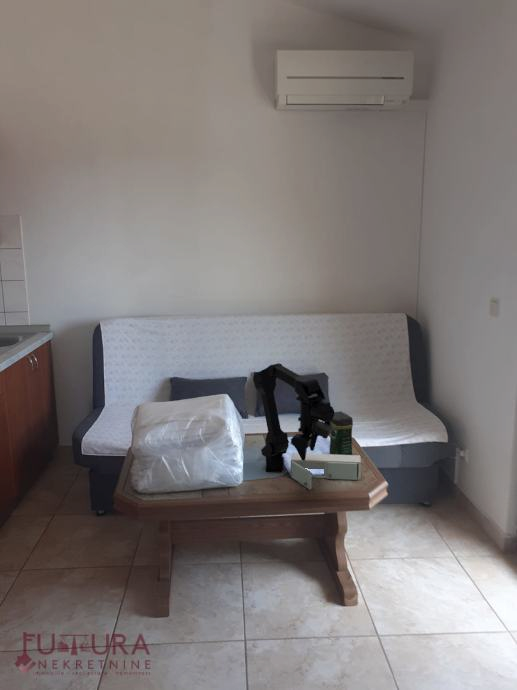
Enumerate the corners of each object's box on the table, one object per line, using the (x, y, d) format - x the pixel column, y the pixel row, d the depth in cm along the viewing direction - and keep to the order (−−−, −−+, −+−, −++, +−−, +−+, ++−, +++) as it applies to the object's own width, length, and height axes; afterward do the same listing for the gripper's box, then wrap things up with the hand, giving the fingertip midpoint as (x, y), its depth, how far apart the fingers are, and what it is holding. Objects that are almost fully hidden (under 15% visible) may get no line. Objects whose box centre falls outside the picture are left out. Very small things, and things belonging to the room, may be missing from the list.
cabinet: (290, 479, 209) (290, 461, 208) (292, 469, 217) (292, 452, 216) (360, 482, 206) (361, 464, 204) (359, 472, 214) (360, 455, 212)
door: (288, 477, 210) (288, 460, 209) (292, 476, 211) (292, 459, 210) (307, 490, 200) (307, 473, 198) (311, 489, 201) (311, 472, 199)
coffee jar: (355, 459, 225) (356, 416, 221) (337, 462, 222) (338, 419, 218) (343, 450, 234) (344, 408, 230) (326, 453, 231) (327, 411, 227)
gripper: (321, 426, 185) (320, 469, 189) (337, 409, 201) (337, 449, 205) (290, 421, 190) (290, 464, 193) (308, 405, 206) (308, 444, 210)
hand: (307, 455), depth 200 cm, fingers open, 9 cm apart
